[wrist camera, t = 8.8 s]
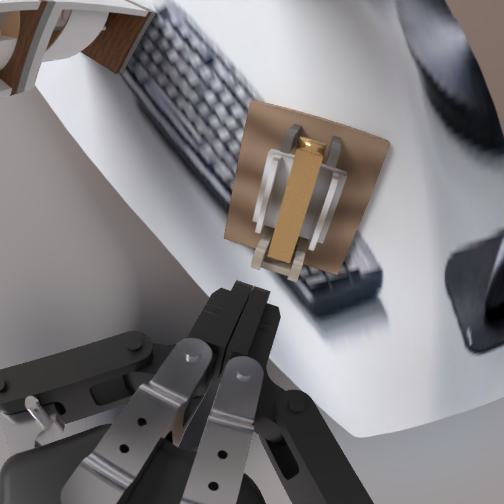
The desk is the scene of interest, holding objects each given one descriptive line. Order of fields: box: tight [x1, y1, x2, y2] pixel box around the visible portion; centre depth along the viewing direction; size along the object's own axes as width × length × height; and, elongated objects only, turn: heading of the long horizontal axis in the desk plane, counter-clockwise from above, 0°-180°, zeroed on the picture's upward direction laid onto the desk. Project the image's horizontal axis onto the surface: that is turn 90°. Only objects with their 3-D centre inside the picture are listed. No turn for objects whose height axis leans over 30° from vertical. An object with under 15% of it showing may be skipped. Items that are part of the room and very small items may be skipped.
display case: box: [0, 0, 156, 99], centre depth 21 cm, size 11×11×35 cm
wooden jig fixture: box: [224, 100, 390, 282], centre depth 39 cm, size 21×18×9 cm
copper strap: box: [267, 136, 327, 263], centre depth 37 cm, size 16×3×2 cm, turn 167°
